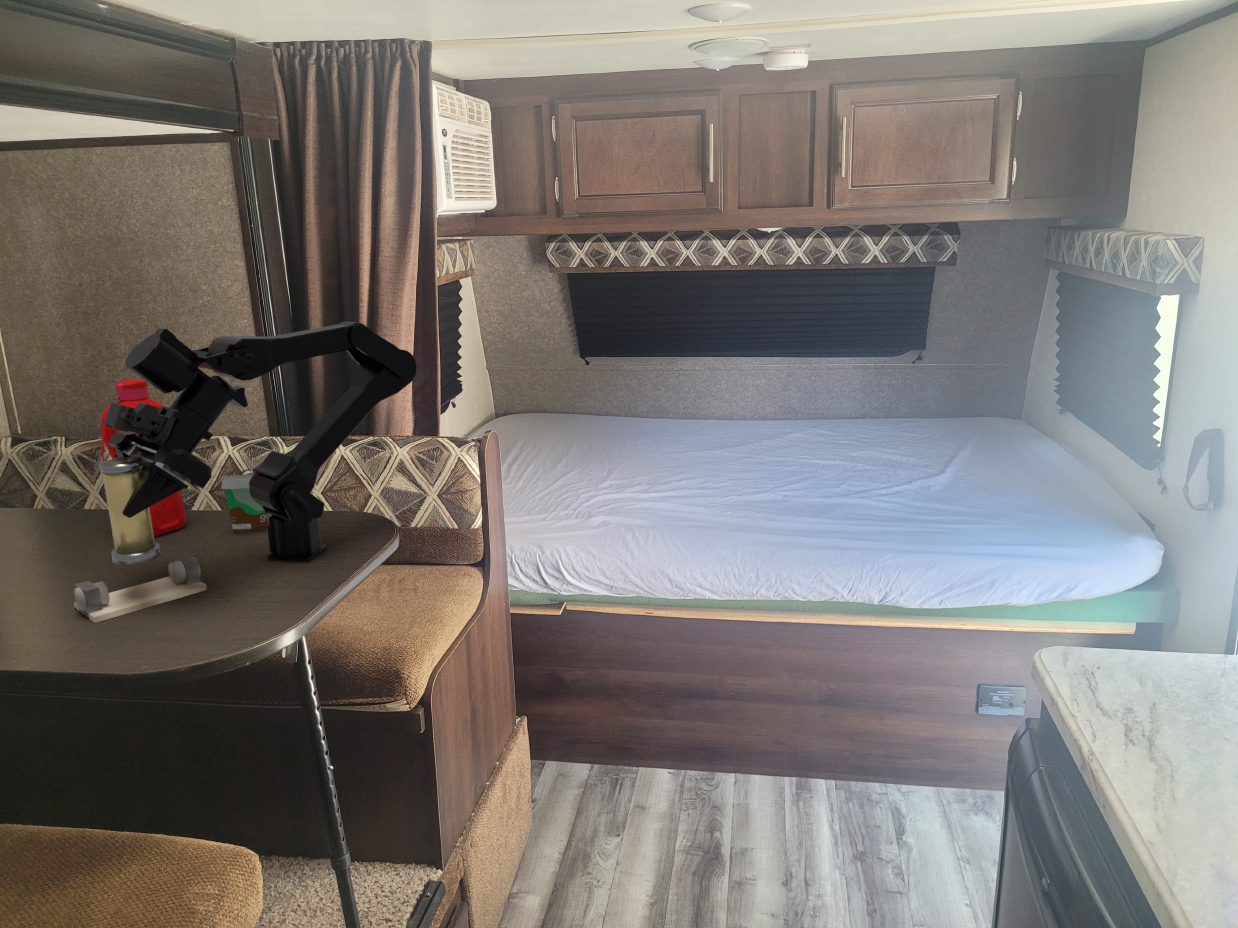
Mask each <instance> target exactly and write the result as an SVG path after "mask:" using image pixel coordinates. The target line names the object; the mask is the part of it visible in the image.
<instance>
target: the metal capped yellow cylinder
mask: <svg viewBox="0 0 1238 928" xmlns="http://www.w3.org/2000/svg"><path fill="white" fill-rule="evenodd" d="M142 459H143V458H141V457H122V458H115V459H112V458H111V459H106V460H104V461H103V460H102V461H101V462H99V464H98V466H99V472H100V474H102V478H103V485H104V490H105V495H106V496H105V497H106V503H107V504H108V507H107V508H108V514H109V520H110V525H111V532H112V538H113V544H114V548H113V549H112V550H111V552H110V553H111V559H112V563H113V564H115V565H119V566H131V565H132V566H133V565H138V564H144V563H148V562H150V561H153V560H156V559H157V558H159V557H160V556H161V555H162V553H161V546H160V543H159V542H156V541H155V536H154V534H153V528H152V521H151V515H150V508H147V509H145V510H143V511H142V512H140V513H138V514H136V515H134V516H133V517H131V518H128V517H126V516H125V515H123V514H122V512H123V510H124V508H125V506H126V504H127V502H128V501H129V499H130V497H131V495H132V494H133V492H134V490H135V489H136V487H137V485H138V484H139V482H140V480H141V478H142V477H143V469H142Z"/></svg>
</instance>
